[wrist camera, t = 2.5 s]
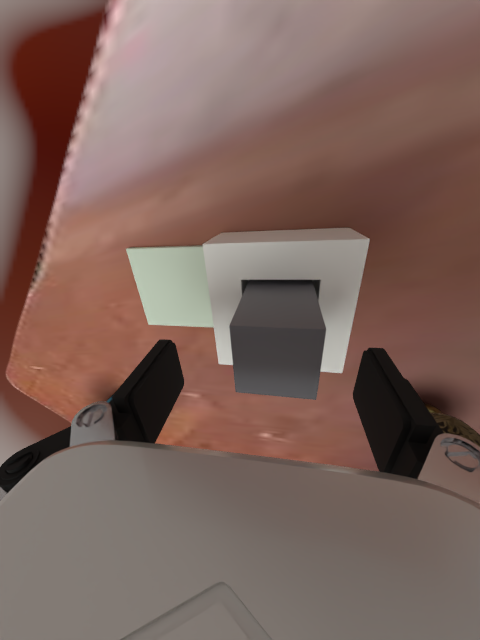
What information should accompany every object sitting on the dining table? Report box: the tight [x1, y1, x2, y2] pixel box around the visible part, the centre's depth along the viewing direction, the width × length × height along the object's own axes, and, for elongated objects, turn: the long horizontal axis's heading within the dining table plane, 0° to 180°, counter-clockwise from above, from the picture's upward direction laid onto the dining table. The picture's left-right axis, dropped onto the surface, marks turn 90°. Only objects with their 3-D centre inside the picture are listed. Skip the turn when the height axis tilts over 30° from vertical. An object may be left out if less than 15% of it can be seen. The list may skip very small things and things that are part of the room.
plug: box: [229, 280, 326, 400], centre depth 16 cm, size 4×4×10 cm
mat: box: [126, 245, 214, 327], centre depth 22 cm, size 8×8×1 cm
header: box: [203, 228, 370, 373], centre depth 18 cm, size 10×10×5 cm
